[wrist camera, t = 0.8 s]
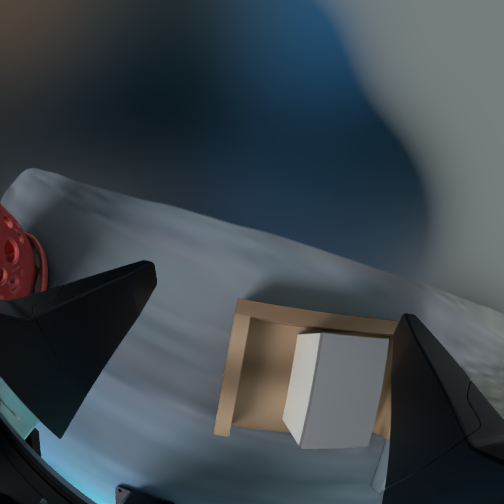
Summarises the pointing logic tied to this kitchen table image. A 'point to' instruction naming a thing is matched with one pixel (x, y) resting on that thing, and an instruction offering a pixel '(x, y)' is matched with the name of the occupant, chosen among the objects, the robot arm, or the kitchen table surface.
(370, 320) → the dock
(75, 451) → the kitchen table surface
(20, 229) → the plant pot
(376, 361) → the grey matte cuboid
